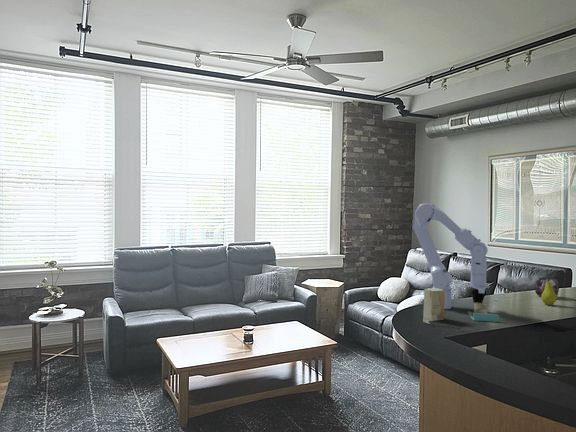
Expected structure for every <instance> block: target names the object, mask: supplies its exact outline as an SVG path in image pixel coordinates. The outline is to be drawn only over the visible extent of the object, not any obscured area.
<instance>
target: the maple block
mask: <svg viewBox="0 0 576 432" xmlns="http://www.w3.org/2000/svg"><path fill="white" fill-rule="evenodd" d="M473 312H474V313H480V314H487V313H488V304H487V303H486V302H483V303H477V302H474V303H473Z"/></svg>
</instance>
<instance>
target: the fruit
mask: <svg viewBox="0 0 576 432" xmlns="http://www.w3.org/2000/svg"><path fill="white" fill-rule="evenodd" d="M545 277H546V276H544V278H545ZM545 280H546V278H545ZM540 297H541V301H542V302H543V304H544V305H546V306H552V305H554V304H555V303H556V302H557V299H558V298H557V297H558V295H557V296H556V294H555V292H554V290H553V287H552V285H551V283H550V282H549V281H547V280H546V285H545V289H544V292H543V293H542V296H540Z"/></svg>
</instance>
